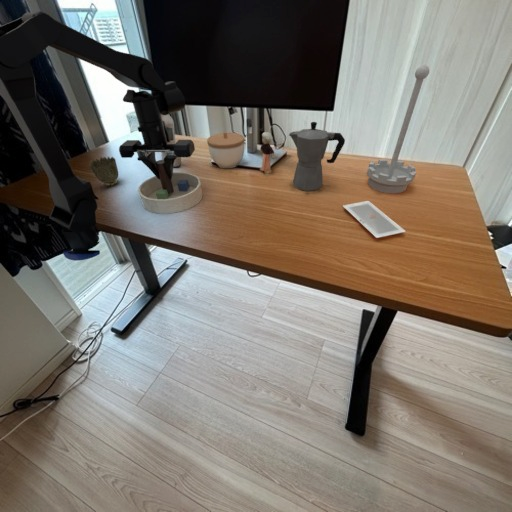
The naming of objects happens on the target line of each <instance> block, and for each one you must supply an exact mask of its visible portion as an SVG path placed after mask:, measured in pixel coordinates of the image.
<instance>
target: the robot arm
mask: <svg viewBox="0 0 512 512" xmlns="http://www.w3.org/2000/svg"><path fill="white" fill-rule="evenodd" d="M48 47H50V48H53V49H55V50H57V51H60V52H62V53H65V54H67V55H69V56H71V57H74V58H76V59H79V60H81V61H83V62H85V63H87V64H90V65H93V66H95V67H97V68H100V69H102V70H104V71H106V72H107V73H109V74H110V75H111V76H112V77H113V78H115V79H116V80H117V81H119V82H121V83H122V84H124V85H125V86H127V87H130V88H134V89H135V88H136V89H139V90H140V91H136V90H134V89H127V90H126V93H125V94H124V96H123V97H122V102H124V103H129V104H132V105H133V109H134V113H135V116H136V119H137V123H138V126H137V130H138V133H141V136H142V139H143V143H142V141H141V140H139V139H127V140H125V141H124V142H123V143H122V144H121V145H119V147H118V152H119V155H120V157H121V158H122V159H124V158H125V159H127V158H129V159H130V158H133V157H134V155H135V153H136V154H137V161H140V162H142V163H143V164H144V165H145V166H146V168H148V169H149V170H150V171H151V172H152V173H153V175H154V176H156V177H157V178H158V179H160V177H159V174H158V170H157V167H156V161H157V159H156V153H161V152H165V153H166V156H165V158H164V162H165V166H166V170H167V173H168V176H169V179H172V175H173V172H174V167H173V166H174V161H175V159H176V158H177V157H181V158H191V156H192V155H193V154H194V152H195V150H196V147H195V143H194V142H193V140H192V139H177V140H176V144H168V142H170V141H171V140H173V130H172V128H169V127H166V126H165V123H164V121H162V118H161V114H162V115H168V114H169V115H171V114H175V113H177V112H180V111H183V110H185V107H186V98H185V96H184V95H183V94H184V93H182V91H181V89H180V88H179V87H178V86H177V82H176V81H166V82H164V80H163V79H162V77H160V75H159V74H158V73H157V71H156V70H155V67H154V64H153V62H152V61H151V60H149V58H146V57H142V56H139V55H135V54H132V53H127V52H122V51H119V50H116V49H113V48H112V47H110V46H107V45H106V44H104V43H102V42H100V41H98V40H96V39H94V38H92V37H90V36H88V35H86V34H84V33H82V32H80V31H78V30H76V29H74V28H72V27H70V26H69V25H66V24H65V23H62V22H60V21H59V20H57V19H55V18H53V17H52V16H51V15H50V14H48V13H46V12H44V11H30V12H25V13H24V14H22V16H21V17H19V18H17V19H15V20H12V21H10V22H8V23H5V24H2V25H0V96H1V98H2V99H3V101H5V103H6V105H7V107H8V108H9V110H10V112H11V114H12V115H13V117H14V118H15V121H16V123H17V124H18V126H19V128H20V130H21V132H22V133H23V135H24V137H25V139H26V140H27V141H28V144H29V146H30V147H31V149H32V151H33V152H34V155H35V157H36V158H37V160H38V162H39V163H40V166H41V167H42V169H43V171H44V172H45V174H46V176H47V178H48V186H49V187H48V188H49V189H48V190H49V192H50V195H51V198H52V202H53V206H52V209H51V212H50V214H49V219H50V220H51V221H53V222H54V223H55V224H57V225H60V226H61V229H62V230H61V234H62V235H63V237H64V238H65V240H66V241H67V243H68V245H69V246H70V248H71V249H67V250H68V251H67V252H68V253H73V254H94V253H95V252H96V251H97V250H98V249H97V250H96V249H95V250H94V248H95V247H97V245H99V244H100V237H99V235H100V231H99V230H98V228H97V216H96V211H97V209H98V202H97V200H99V197H98V196H96V194H95V193H94V189H93V185H92V184H91V182H90V181H88V180H86V179H83V178H80V177H78V176H77V175H75V173H74V170H73V169H72V166H71V165H70V163H69V160H68V159H67V157H66V155H65V154H66V153H64V151H63V148H62V147H61V144H60V142H59V140H58V138H57V135H56V134H55V132H54V130H53V128H52V126H51V124H50V121H49V120H48V118H47V116H46V114H45V112H44V110H43V108H42V106H41V103H40V102H39V100H38V97H37V91H36V80H35V79H36V78H35V74H34V71H33V68H32V65H31V60H33V59H35V58H36V57H37V56H39V55H40V54H41V53H43V52H44V51H45V49H47V48H48ZM148 91H150V93H149V92H148Z"/></svg>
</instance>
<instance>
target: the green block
mask: <svg viewBox="0 0 512 512" xmlns="http://www.w3.org/2000/svg"><path fill="white" fill-rule="evenodd" d="M156 196H157V199H168V198H169V195H168V192H167V190H158V191H157V193H156Z"/></svg>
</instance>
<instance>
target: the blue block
mask: <svg viewBox="0 0 512 512" xmlns="http://www.w3.org/2000/svg"><path fill="white" fill-rule="evenodd" d="M177 185H178V189H179V191H186V192H187V190H188V189H189V184H188V180H180V181H179V182H178V183H177Z"/></svg>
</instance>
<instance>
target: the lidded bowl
mask: <svg viewBox="0 0 512 512" xmlns="http://www.w3.org/2000/svg"><path fill="white" fill-rule="evenodd" d="M206 143H207V147H208V152H209V155H210V158H211V159H212V161H213V163H215V164H216V165H217V166H218V167H219V168H221V169H234V168H236V167H237V166H238V165H239V163H241V161H242V159H243V157H244V154H245V137H244V135H243V134H240V133H236V132H228V131H224V132H219V133H216V134H212V135H211V136H209V137H208V138H207V140H206ZM237 164H238V165H237ZM236 165H237V166H236Z"/></svg>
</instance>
